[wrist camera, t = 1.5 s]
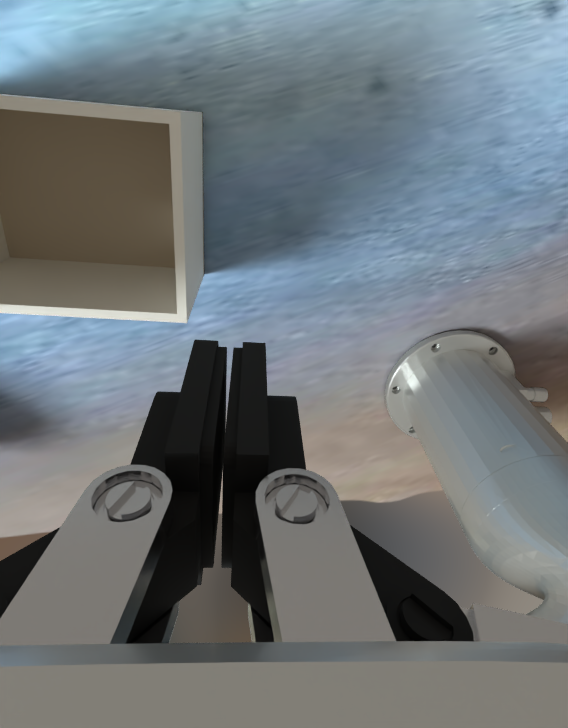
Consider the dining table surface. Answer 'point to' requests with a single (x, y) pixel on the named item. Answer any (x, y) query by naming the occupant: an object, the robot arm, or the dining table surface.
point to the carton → (100, 209)
